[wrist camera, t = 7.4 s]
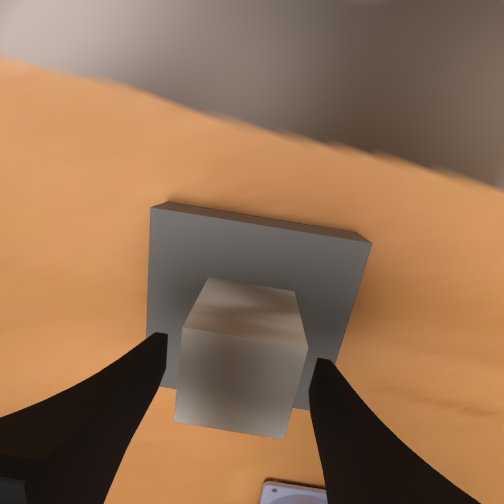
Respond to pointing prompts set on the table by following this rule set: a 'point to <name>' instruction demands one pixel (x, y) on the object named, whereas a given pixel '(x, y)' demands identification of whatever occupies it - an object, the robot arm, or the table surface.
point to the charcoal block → (252, 274)
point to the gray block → (240, 359)
